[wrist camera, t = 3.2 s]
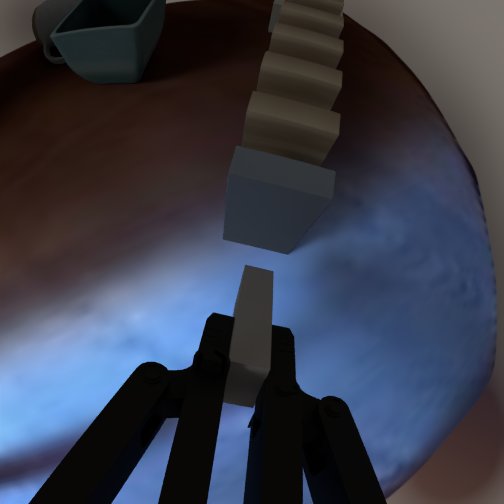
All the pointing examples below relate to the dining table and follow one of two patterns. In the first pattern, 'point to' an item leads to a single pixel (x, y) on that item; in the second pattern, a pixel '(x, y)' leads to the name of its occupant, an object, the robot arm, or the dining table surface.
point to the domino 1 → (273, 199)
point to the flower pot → (110, 38)
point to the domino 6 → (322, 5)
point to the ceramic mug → (50, 23)
